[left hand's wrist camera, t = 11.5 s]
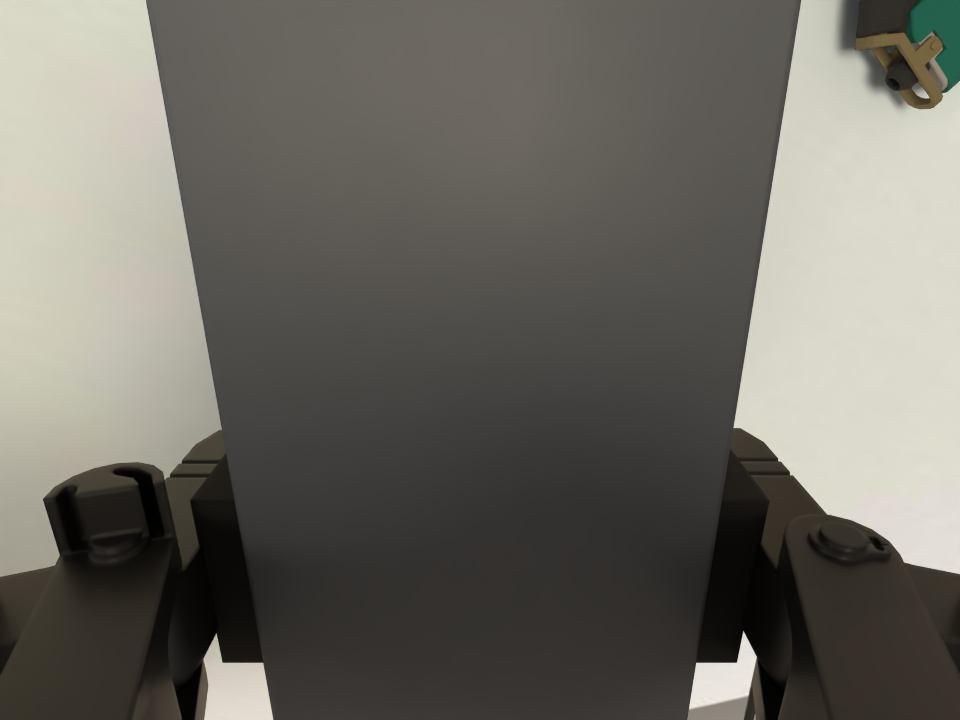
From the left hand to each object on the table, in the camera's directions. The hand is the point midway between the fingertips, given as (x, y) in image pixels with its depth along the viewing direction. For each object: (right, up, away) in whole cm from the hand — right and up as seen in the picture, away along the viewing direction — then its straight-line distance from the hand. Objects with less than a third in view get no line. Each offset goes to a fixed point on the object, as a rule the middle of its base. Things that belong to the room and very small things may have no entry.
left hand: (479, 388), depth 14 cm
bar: (0, +21, -8) cm, 23 cm away
